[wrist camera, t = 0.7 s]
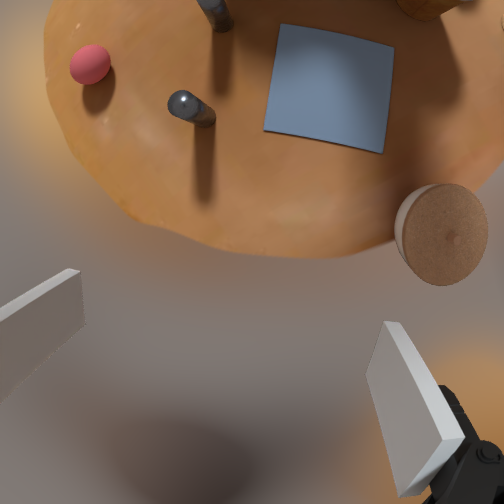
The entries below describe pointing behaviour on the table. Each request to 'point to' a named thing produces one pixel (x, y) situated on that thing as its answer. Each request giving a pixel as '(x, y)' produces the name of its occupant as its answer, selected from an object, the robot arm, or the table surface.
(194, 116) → the post
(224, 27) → the post
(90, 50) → the ball
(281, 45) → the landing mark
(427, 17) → the disposable coffee cup
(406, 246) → the lidded jar
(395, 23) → the table surface
